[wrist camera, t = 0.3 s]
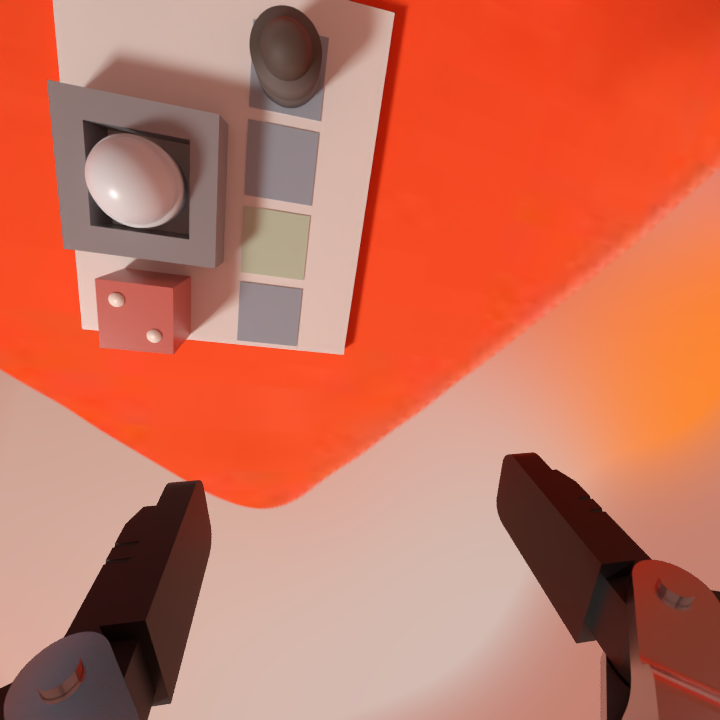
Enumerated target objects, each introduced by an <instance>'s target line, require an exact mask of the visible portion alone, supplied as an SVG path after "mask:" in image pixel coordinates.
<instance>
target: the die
mask: <svg viewBox="0 0 720 720" xmlns="http://www.w3.org/2000/svg"><path fill="white" fill-rule="evenodd" d="M95 288H96V302H97V315H98V328H99V342H100V348H111V349H122V350H133V351H143V352H154V353H165V354H174V353H175V352H176V351H177V349H178V348H179V347H180V346H181V345H182V344H183V342H184V341H185V340H186V339H187V338H188V337H189V335H190V334H191V276H184V275H176V274H168V273H160V272H152V271H144V270H137V269H129V268H124V269H121V270H118V271H115V272H112V273H109V274H107V275H104V276H101V277H98V278H95Z"/></svg>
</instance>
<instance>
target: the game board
mask: <svg viewBox="0 0 720 720" xmlns="http://www.w3.org/2000/svg"><path fill="white" fill-rule="evenodd" d="M278 5H286V6H291V7H294V8H296V9H298V10H300V11H301V12H303V13H304V14H305V15H306V16H307V17H308V18H309V19H310V20H311V21H312V23H313V24H314V26H315V28H316V30H317V32H318V34H319V37H320V40H321V45H322V62H321V69H320V76H319V83H318V87H317V90H316V92H315V94H314V96H313V97H312V98H311V100H310V101H309V102H307V103H306V104H305V105H303V106H301V107H298V108H285V107H281V106H279V105H277V104H276V103H274V102H273V101H271V100H270V99H269V98H268V97H267V95H266V94H265V93H264V91H263V89H262V87H261V85H260V83H259V80H258V77H257V74H256V71H255V68H254V65H253V62H252V59H251V55H250V48H249V41H250V34H251V30H252V27H253V25H254V23H255V21H256V19H257V18H258V16H259V15H260V14H261V13H262V12H264V11H265V10H266V9H268V8H270V7H273V6H278ZM53 8H54V20H55V31H56V42H57V53H58V64H59V75H60V82H61V83H66V84H71V85H76V86H81V87H86V88H91V89H96V90H101V91H106V92H111V93H116V94H121V95H126V96H131V97H136V98H141V99H146V100H151V101H156V102H161V103H166V104H170V105H175V106H180V107H185V108H190V109H195V110H200V111H205V112H210V113H215V114H219V115H220V116H221V117H222V118H223V119H224V120H225V121H226V122H227V124H228V149H227V177H226V204H225V232H224V260H223V263H222V264H220V265H219V266H218V267H216V268H207V267H200V266H192V265H185V264H177V263H169V262H162V261H154V260H147V259H139V258H131V257H124V256H116V255H109V254H101V253H93V252H86V251H78V250H75V254H76V265H77V276H78V287H79V299H80V310H81V321H82V329H88V330H98V331H99V328H98V315H97V302H96V288H95V278H98V277H101V276H104V275H107V274H109V273H112V272H115V271H118V270H121V269H124V268H129V269H137V270H144V271H152V272H160V273H168V274H176V275H184V276H191V334H190V335H189V337H188V338H187V339H189V340H199V341H210V342H220V343H230V344H240V345H250V346H260V347H270V348H281V349H291V350H301V351H311V352H321V353H331V354H341V355H344V348H345V342H346V335H347V328H348V322H349V315H350V308H351V302H352V295H353V288H354V282H355V275H356V268H357V262H358V255H359V249H360V242H361V235H362V229H363V222H364V215H365V209H366V202H367V195H368V189H369V182H370V175H371V169H372V162H373V155H374V149H375V142H376V135H377V129H378V122H379V115H380V109H381V102H382V95H383V89H384V82H385V75H386V69H387V62H388V55H389V49H390V42H391V35H392V29H393V22H394V15H395V13H394V12H390V11H386V10H383V9H379V8H375V7H371V6H368V5H364V4H360V3H356V2H353V1H349V0H53ZM114 134H124V132H119V131H113V130H108V136H110V135H114ZM126 134H129V133H126ZM133 135H135V134H133ZM137 136H140V135H137ZM140 137H142V138H145V139H147V140H149V141H152V142H154V143H156V144H158V145H160V146H162V147H163V148H164V149H166V150H167V151H168V152H169V153H170V154H171V155H172V156H173V157H174V158H175V159H176V160H177V162H178V163H179V165H180V167H181V168H182V170H183V173H184V175H185V179H186V183H187V199H186V203H185V206H184V208H183V210H182V211H181V213H180V214H179V215H178V216H177V217H176V218H175V219H174V220H172V221H171V222H169V223H167V224H164V225H161V226H156V227H149V228H148V229H155V230H162V231H168V232H175V233H182V234H189V210H190V145H189V144H183V143H178V142H173V141H167V140H162V139H156V138H151V137H146V136H140ZM113 224H120V225H124V224H122V223H119V222H117V221H116V220H114V219H113Z"/></svg>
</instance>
